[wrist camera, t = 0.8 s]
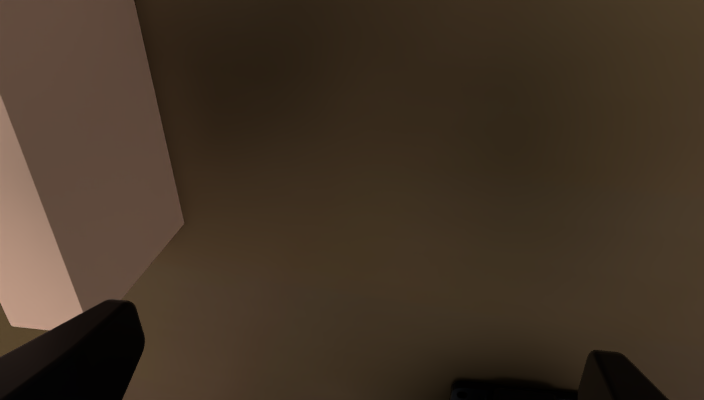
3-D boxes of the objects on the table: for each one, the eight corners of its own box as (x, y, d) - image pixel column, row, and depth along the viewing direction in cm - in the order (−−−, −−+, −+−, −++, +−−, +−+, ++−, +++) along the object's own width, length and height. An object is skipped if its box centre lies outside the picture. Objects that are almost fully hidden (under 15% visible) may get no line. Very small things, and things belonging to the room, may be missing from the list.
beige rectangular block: (185, 222, 23) (91, 335, 17) (123, 217, 23) (11, 326, 17) (116, -85, 17) (-65, -78, 11) (36, -83, 17) (-180, -74, 11)
